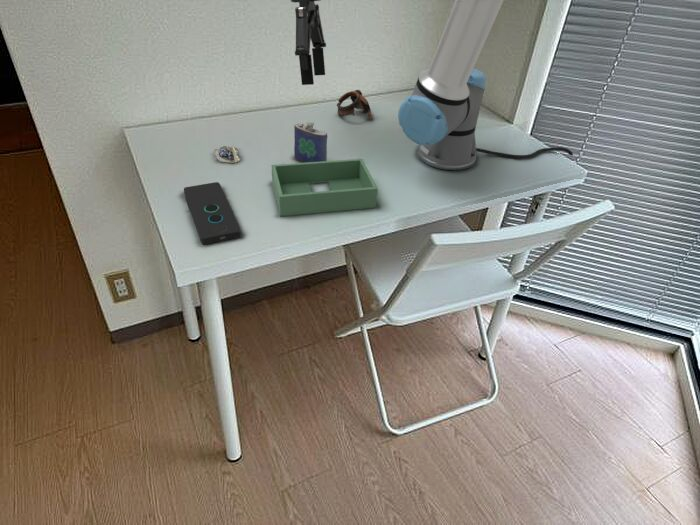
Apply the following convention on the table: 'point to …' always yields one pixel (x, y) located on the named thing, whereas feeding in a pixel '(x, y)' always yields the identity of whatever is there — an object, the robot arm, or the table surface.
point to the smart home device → (211, 213)
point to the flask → (310, 143)
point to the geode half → (227, 154)
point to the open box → (346, 191)
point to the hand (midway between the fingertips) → (314, 79)
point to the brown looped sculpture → (354, 104)
